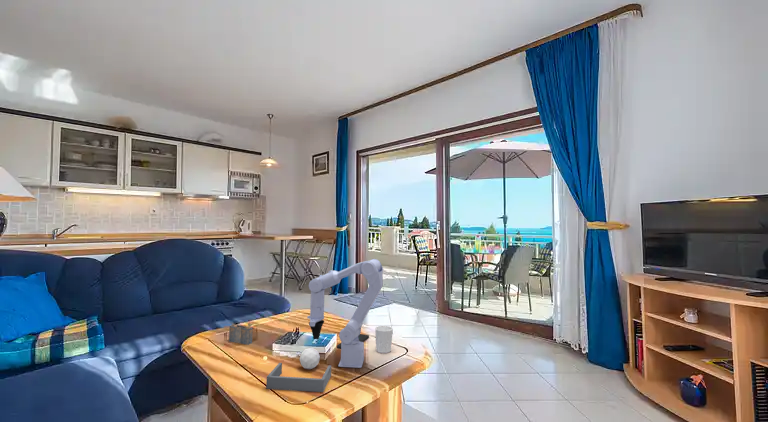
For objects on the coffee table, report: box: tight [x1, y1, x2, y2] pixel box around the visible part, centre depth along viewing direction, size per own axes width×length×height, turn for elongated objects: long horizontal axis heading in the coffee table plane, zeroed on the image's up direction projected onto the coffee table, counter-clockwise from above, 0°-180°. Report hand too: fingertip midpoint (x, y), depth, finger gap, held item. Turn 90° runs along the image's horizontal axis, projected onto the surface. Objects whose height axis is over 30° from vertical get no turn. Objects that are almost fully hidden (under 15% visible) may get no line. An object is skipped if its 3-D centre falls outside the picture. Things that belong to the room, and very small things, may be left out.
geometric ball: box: [299, 347, 321, 370], centre depth 133 cm, size 8×8×8 cm
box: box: [265, 362, 332, 393], centre depth 121 cm, size 20×12×4 cm, turn 86°
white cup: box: [374, 325, 394, 354], centre depth 153 cm, size 8×8×10 cm
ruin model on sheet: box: [228, 321, 254, 346], centre depth 159 cm, size 11×3×10 cm, turn 71°
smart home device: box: [336, 333, 370, 350], centre depth 162 cm, size 8×2×20 cm
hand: (316, 338), depth 142 cm, fingers closed
